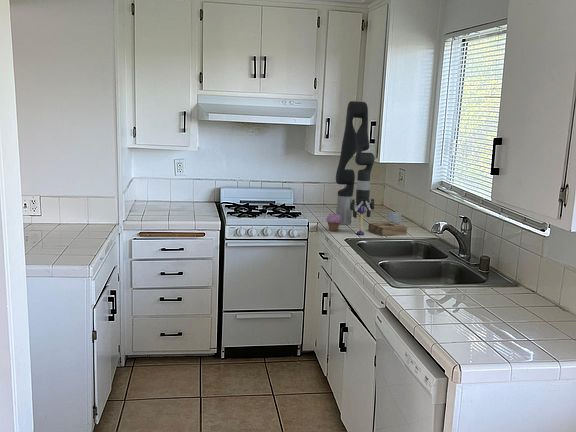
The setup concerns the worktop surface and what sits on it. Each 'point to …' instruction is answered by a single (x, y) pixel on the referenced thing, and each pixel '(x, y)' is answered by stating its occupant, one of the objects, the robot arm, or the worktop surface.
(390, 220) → the medicine box
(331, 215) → the cupcake
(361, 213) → the toy lamp
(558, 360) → the worktop surface
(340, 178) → the robot arm
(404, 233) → the socket block
